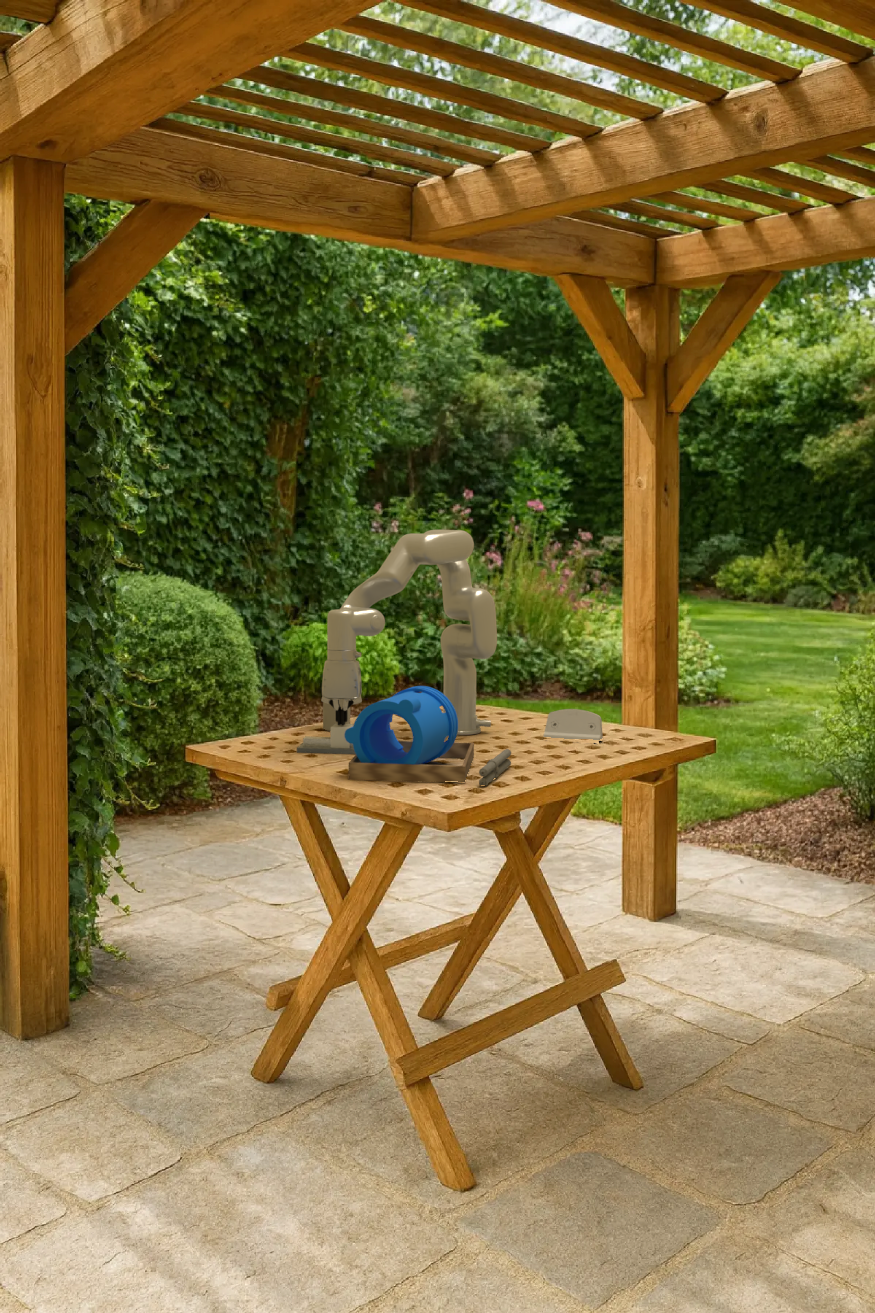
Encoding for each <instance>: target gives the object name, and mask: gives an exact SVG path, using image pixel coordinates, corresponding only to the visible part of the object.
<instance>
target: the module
mask: <svg viewBox="0 0 875 1313" xmlns="http://www.w3.org/2000/svg"><path fill="white" fill-rule="evenodd" d="M353 726H354V723H350V724H345V725H338V724H334V725H333V726H332V727H331V731H330V737H331V748H350V743H349V742H347V741H346V739H345V731H346V730H347V729H348V728H351V727H353Z"/></svg>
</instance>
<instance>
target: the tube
mask: <svg viewBox="0 0 875 1313" xmlns="http://www.w3.org/2000/svg"><path fill="white" fill-rule="evenodd" d="M440 707H442V709H443V708H444V709H445V711H446V712H445V713H443V711H442V709H441V708H440ZM393 715H396V716H397V717H400V718H402V719H403V720H404V721H405V722H406V723H407V724H408V725H409V728H410V729H411V733H412V741H413V742H412V746H411V749H410V751H409V752H404V750H402V749H403V746H402V745H401V744H400V743H399V742H398V741H399V740H398V739H397V737H396V735H395V732H394V729H391V724H390V723H392V722H393ZM457 732H458V718H457V714H456V711H455V709H454V706H453V705H452V703H451V702H450V700H449V699H448V698H447V697H446V696H445V695H444V692H442V691H439V690H438V689H436V688H433V687H431V686H426V685H417V686H416V685H415V686H412V687H408V688H406V689H403V690H400V691H398V692H396V693H394V694H393V695H392V696H390V697H388V698H385V699H382V700H378V701H377V702H374V703H371V704H369V705H367V706H366V707H365V708H363V709H362V711H360V712H359V714H358V715H357V717H356V719H355V721H354V723H353V727H351V728H348V729H347V730H346V731H345V739H346V741H347V742H349V743H351V744H353V748H354V751H355V753H356V754H355V755H357V757H358V759H359V760H360V761H361V763H387V764H412V765H415V764H419V765H425V764H428V763H431V762H433V761H434V760H437V759H438V758H441V757H440V756H442V755H444V754H445V753H446V752H447V751H448V750H449V749H450V748H451V747H452V745H453V743H454V742H456V738H457V736H458V735H457ZM446 738H447V740H446Z"/></svg>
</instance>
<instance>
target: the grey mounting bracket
mask: <svg viewBox="0 0 875 1313" xmlns="http://www.w3.org/2000/svg"><path fill="white" fill-rule="evenodd" d="M543 737H551V738H564V739H593V740H600V739H602V738H603V737H604V736H603V721H602V717H601V716H600V715H599V714H597V713H594V712H592V711H588V710H586V709H585V710H584V709H579V708H578V709H577V708H565V709H559V710H555V711H550V712H549V713H548V714H547V719H546V723H545V728H544V732H543ZM603 739H604V738H603Z"/></svg>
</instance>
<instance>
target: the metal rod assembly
mask: <svg viewBox="0 0 875 1313" xmlns="http://www.w3.org/2000/svg"><path fill="white" fill-rule="evenodd" d="M511 755H512V751H511V749H509V748H506V749H504V750H502V751H501V752H499V754H498V755H495V757H494V758H491V759H489V760H488V761H487V762H486V764H485V765H484V766H483V767H480V768H479V771H478V774H479V775H480V776H481V778H480V779H479V780H478V784H479V786H480V785H486V786H488V785H489V784H490V783H491V782H492V781H494V780H493V779H494V778H497V777H499V776H500V775H501V774H502V773H504V771H506V770H507V769H508V768H509V767H510V766H511V765H512V761H511V760H510V759H509V757H510V756H511ZM505 769H506V770H505ZM499 774H500V775H499ZM497 779H498V778H497ZM489 782H490V783H489ZM488 783H489V784H488Z"/></svg>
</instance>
